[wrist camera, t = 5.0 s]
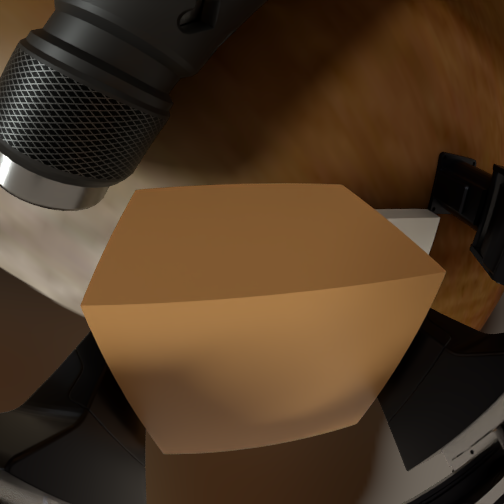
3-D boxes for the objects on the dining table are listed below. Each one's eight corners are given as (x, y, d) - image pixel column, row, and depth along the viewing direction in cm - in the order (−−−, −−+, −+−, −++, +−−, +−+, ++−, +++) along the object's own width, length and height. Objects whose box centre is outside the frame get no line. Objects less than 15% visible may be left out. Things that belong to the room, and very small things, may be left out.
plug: (318, 168, 11) (446, 271, 5) (299, 298, 14) (356, 423, 8) (146, 172, 9) (80, 305, 4) (165, 309, 13) (164, 454, 7)
